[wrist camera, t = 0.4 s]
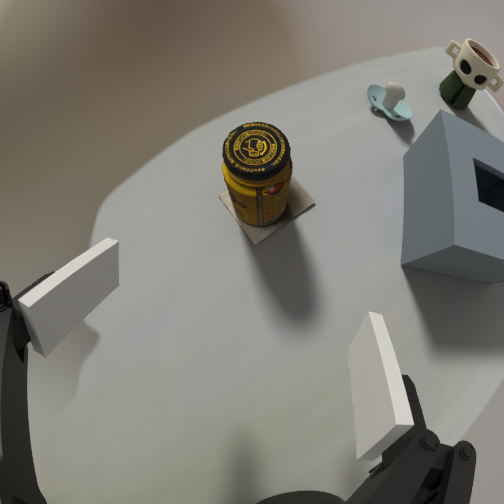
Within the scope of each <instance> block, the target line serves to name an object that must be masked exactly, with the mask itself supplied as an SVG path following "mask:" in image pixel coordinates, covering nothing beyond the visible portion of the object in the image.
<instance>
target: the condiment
mask: <svg viewBox="0 0 504 504" xmlns="http://www.w3.org/2000/svg"><path fill="white" fill-rule="evenodd" d="M223 158H224V161H223V167H222V169H223V175H224V181H225V182H226V185H227V188H228V190H226V191H225V192H223V193H222V194H220V195H218V196H219V197H220V199H221V200H222V201H223V203H224V204H225V205H226V207H227V208H228V209H229V211H230V212H231V213H232V215H233V216H234V218H235V219H236V220H237V221H238V223H239V224H240V225H241V227H242V228H243V229H244V231H245V232H246V233H247V235H248V236H249V237H250V239H251V240H252V241H253V243H254V244H255V245H256V244H257V243H259V242H260V241H262V240H263V239H265V238H266V237H267V236H269V235H270V234H271V233H273V232H274V231H276V230H277V229H279V228H280V227H281V226H283V225H284V224H285V223H287V222H288V221H290V220H291V219H292V218H294V217H295V216H297V215H298V214H299V213H301V212H302V211H304V210H305V209H306V208H308V207H309V206H310V205H312V204H313V203H315V201H314V200H313V199H312V198H311V197H310V196H309V194H308V193H307V192H306V191H305V190H304V189H303V187H302V186H301V185H300V184H299V183H298V182H297V181H296V179H295V178H294V177H293V176H292V168H293V167H292V160H291V157H290V146H289V143H288V140H287V138H286V136H285V135H284V134H283V133H282V132H281V131H280V130H279V129H278V128H276V127H274V126H273V125H271V124H267V123H263V122H253V123H246V124H243V125H241V126H239V127H237V128H236V129H234V130H233V131H232V132H230V134H229V136H228V137H227V138H226V140H225V141H224V144H223Z"/></svg>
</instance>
